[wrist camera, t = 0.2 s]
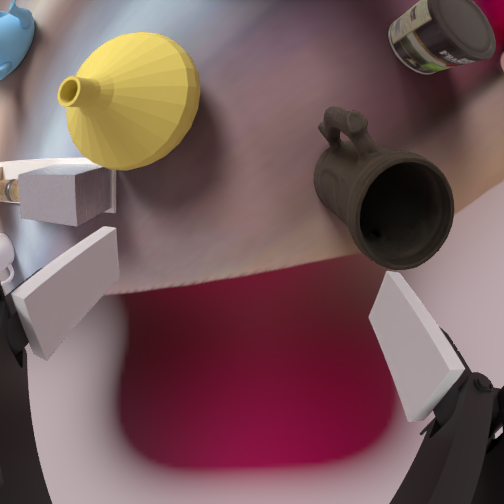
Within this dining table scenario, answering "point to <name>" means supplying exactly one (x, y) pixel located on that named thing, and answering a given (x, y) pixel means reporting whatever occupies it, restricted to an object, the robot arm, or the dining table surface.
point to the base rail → (21, 166)
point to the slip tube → (9, 190)
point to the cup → (6, 256)
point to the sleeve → (65, 193)
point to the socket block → (1, 173)
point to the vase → (131, 100)
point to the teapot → (14, 37)
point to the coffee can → (441, 35)
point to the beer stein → (382, 194)
